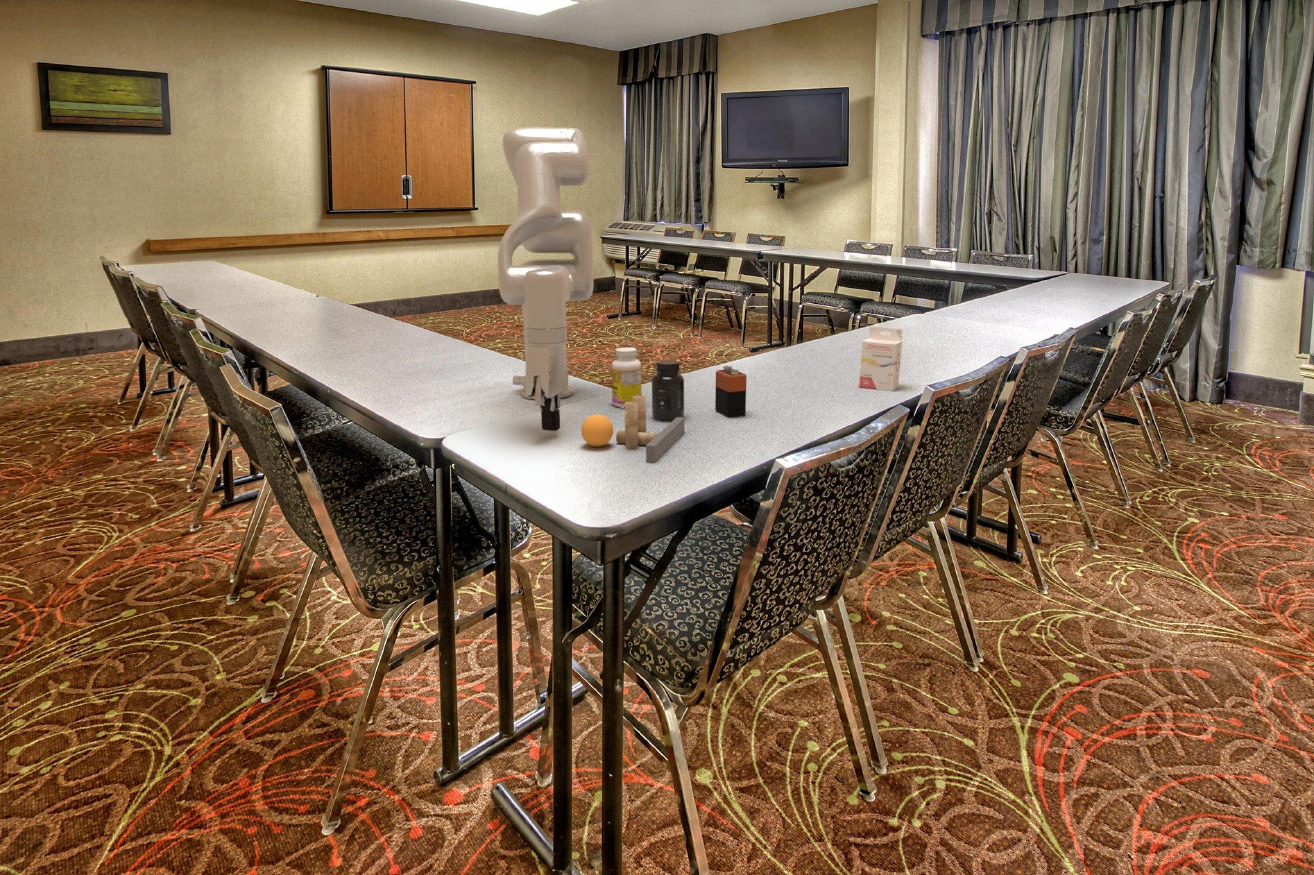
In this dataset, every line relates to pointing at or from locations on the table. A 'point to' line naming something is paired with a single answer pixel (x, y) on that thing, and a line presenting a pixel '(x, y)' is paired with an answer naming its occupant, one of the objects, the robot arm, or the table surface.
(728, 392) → the battery
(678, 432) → the back wall
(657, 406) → the supplement bottle
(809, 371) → the table surface
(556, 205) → the robot arm
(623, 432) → the wooden block
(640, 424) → the pin
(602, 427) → the ball
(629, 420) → the pin
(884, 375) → the ink cartridge box
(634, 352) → the supplement bottle
